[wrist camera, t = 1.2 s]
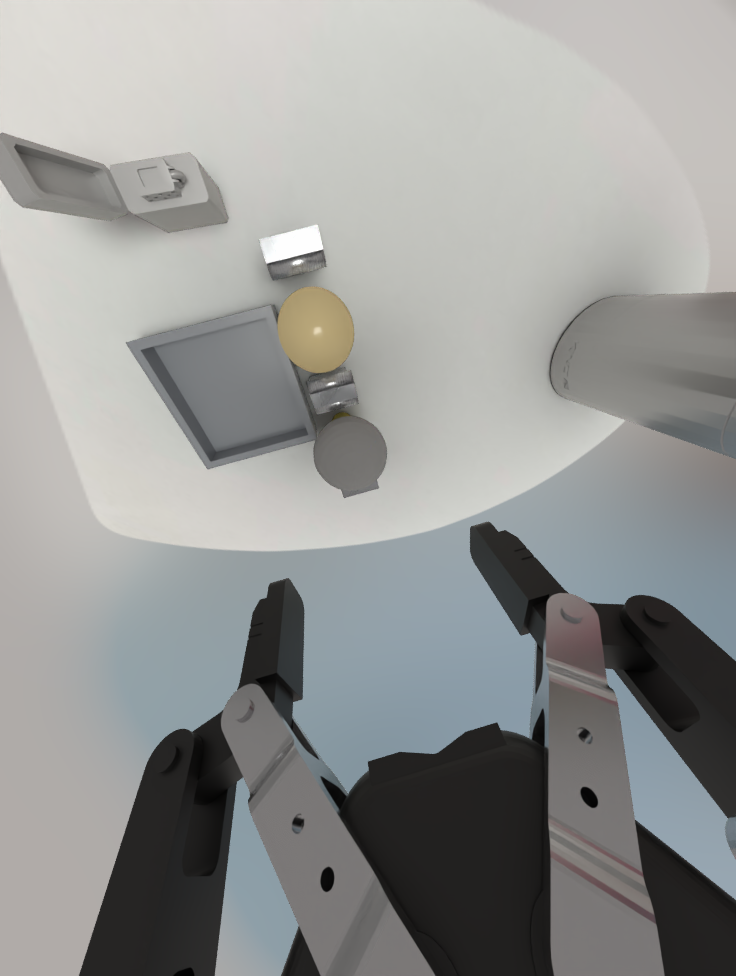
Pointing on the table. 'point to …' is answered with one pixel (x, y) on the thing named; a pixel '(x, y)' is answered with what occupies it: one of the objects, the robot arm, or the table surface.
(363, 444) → the light bulb
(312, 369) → the cream domed cylinder
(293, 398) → the tray
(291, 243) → the clip block
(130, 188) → the lighter
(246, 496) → the table surface
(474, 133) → the table surface
